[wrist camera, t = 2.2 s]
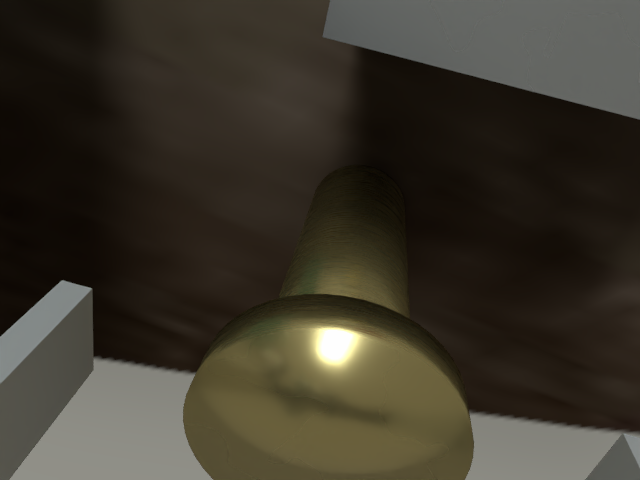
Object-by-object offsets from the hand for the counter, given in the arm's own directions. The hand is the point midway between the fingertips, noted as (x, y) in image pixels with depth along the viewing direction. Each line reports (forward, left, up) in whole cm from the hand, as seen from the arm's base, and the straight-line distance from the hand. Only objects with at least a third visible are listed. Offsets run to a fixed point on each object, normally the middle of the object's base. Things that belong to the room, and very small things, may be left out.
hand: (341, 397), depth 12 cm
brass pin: (0, 0, -11) cm, 11 cm away
